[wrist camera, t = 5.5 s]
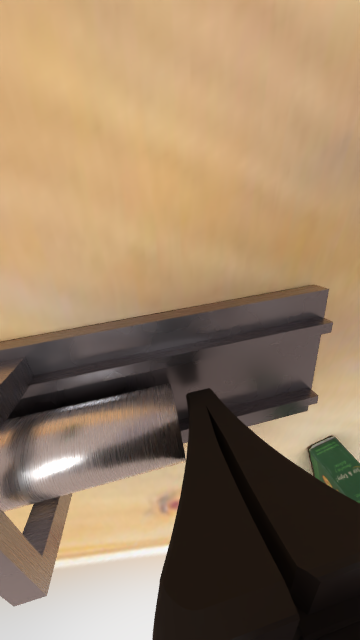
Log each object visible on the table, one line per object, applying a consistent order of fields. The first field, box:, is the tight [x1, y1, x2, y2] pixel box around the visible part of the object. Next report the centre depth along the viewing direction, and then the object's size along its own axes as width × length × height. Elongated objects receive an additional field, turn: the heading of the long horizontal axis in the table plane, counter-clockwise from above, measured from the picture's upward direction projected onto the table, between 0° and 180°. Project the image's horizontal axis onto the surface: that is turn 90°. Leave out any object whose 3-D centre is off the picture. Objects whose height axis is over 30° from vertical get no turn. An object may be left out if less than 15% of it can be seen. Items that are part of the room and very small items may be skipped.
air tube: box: [0, 383, 186, 512], centre depth 9 cm, size 13×4×4 cm, turn 97°
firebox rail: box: [0, 285, 333, 606], centre depth 10 cm, size 25×9×6 cm, turn 97°
